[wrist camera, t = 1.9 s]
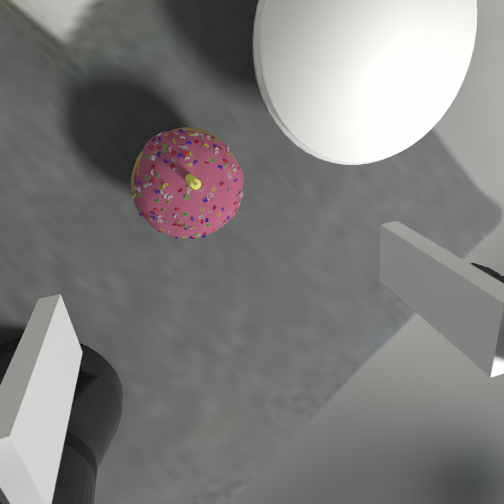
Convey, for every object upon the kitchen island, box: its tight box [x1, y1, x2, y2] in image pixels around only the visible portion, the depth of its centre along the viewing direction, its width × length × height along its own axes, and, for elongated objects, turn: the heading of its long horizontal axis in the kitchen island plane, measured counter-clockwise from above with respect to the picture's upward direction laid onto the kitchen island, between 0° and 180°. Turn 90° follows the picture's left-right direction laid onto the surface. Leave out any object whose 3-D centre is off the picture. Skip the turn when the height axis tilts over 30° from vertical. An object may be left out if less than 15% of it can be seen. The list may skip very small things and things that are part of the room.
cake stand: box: [252, 0, 477, 165], centre depth 31 cm, size 17×17×7 cm
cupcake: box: [131, 127, 244, 239], centre depth 30 cm, size 9×8×12 cm
